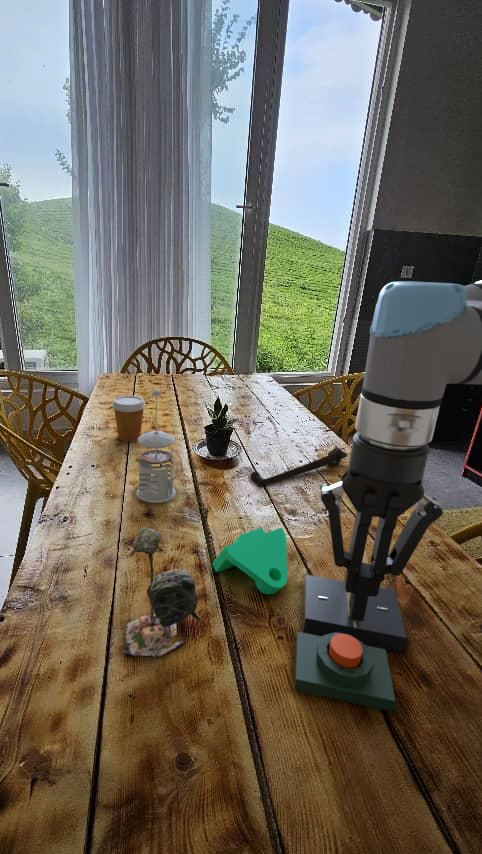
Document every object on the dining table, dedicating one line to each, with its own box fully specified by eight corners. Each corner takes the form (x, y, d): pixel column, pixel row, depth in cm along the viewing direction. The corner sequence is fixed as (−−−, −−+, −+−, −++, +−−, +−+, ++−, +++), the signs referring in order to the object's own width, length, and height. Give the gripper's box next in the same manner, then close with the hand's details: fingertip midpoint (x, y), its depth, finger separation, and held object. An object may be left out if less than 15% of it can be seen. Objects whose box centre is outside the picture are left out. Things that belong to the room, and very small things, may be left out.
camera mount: (207, 560, 79) (234, 616, 74) (222, 540, 73) (251, 599, 68) (261, 541, 84) (289, 592, 79) (278, 522, 79) (309, 575, 74)
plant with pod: (200, 662, 60) (207, 539, 53) (117, 659, 60) (112, 535, 53) (201, 617, 68) (207, 504, 61) (127, 614, 68) (124, 500, 60)
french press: (154, 480, 109) (154, 381, 100) (192, 495, 103) (196, 391, 93) (125, 495, 101) (122, 390, 92) (164, 512, 95) (166, 401, 86)
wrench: (248, 484, 112) (334, 455, 126) (260, 494, 108) (347, 463, 122) (249, 466, 110) (336, 439, 124) (261, 476, 106) (350, 446, 120)
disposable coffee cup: (136, 446, 127) (136, 407, 123) (107, 441, 130) (105, 402, 126) (150, 435, 136) (150, 397, 131) (122, 430, 139) (121, 393, 134)
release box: (382, 660, 62) (388, 639, 60) (392, 713, 55) (399, 690, 53) (295, 643, 64) (298, 621, 63) (293, 691, 57) (297, 668, 55)
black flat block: (391, 604, 72) (395, 588, 71) (402, 654, 63) (407, 637, 62) (303, 588, 75) (306, 573, 74) (302, 634, 66) (305, 617, 65)
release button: (358, 646, 59) (361, 636, 59) (361, 671, 56) (364, 661, 55) (328, 640, 60) (330, 630, 60) (329, 664, 57) (331, 654, 56)
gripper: (328, 443, 44) (302, 624, 53) (471, 459, 42) (418, 646, 51) (326, 419, 51) (303, 583, 60) (448, 431, 49) (405, 600, 57)
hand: (355, 612), depth 55 cm, fingers closed
